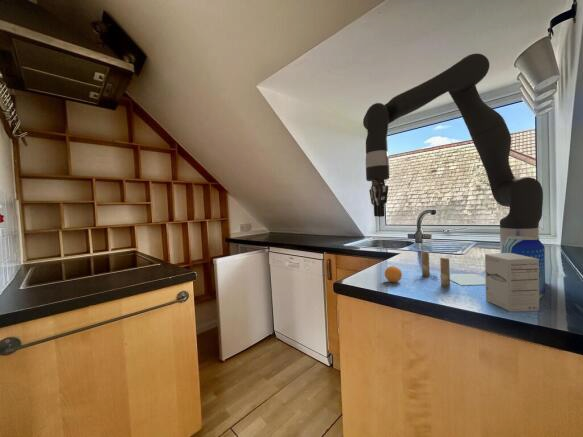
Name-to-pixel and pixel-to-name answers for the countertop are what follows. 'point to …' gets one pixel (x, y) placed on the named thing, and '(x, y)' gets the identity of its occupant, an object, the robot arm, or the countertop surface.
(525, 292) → the supplement box
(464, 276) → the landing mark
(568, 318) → the countertop surface
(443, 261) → the near post
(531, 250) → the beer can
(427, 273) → the far post
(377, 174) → the robot arm
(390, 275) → the ball
